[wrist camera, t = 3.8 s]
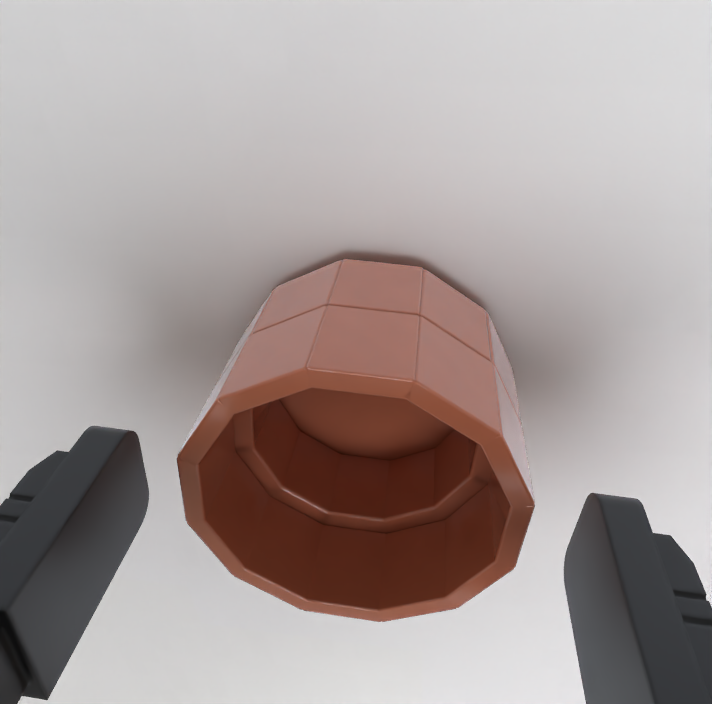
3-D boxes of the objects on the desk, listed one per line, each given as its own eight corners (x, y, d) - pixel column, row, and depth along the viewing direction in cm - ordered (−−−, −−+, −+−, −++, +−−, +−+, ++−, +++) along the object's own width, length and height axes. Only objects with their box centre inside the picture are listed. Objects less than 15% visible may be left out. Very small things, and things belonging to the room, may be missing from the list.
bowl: (252, 450, 16) (195, 595, 13) (242, 236, 13) (159, 350, 9) (481, 480, 16) (493, 639, 12) (533, 267, 13) (570, 399, 9)
